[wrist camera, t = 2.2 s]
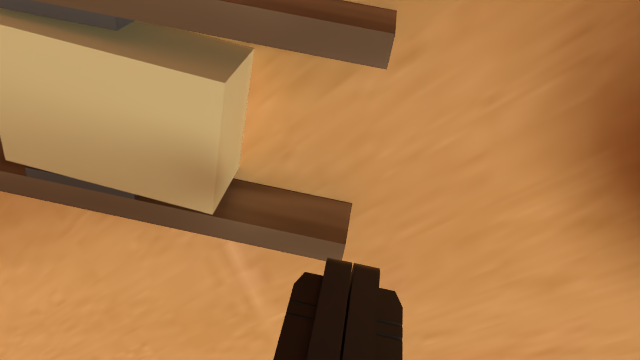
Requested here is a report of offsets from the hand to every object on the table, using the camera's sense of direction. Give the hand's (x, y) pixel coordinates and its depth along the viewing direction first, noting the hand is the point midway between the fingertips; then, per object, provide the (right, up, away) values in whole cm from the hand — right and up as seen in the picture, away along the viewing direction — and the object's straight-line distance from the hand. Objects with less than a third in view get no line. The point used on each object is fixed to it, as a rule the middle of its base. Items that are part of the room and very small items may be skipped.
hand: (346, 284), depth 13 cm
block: (-8, +7, +8) cm, 14 cm away
